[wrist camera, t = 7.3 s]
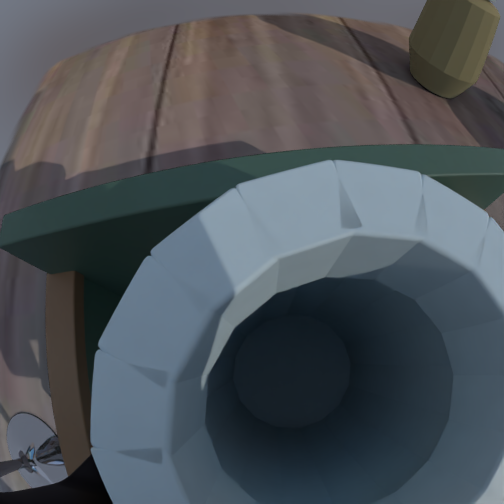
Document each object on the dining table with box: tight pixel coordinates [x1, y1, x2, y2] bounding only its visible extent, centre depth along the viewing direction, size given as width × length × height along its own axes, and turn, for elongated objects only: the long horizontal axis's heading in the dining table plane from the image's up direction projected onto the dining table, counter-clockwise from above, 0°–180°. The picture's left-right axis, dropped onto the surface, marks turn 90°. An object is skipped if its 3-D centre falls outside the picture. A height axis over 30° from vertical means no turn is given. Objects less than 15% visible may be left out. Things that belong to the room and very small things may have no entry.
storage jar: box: [90, 160, 504, 504], centre depth 9 cm, size 7×7×13 cm
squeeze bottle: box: [409, 0, 500, 98], centre depth 14 cm, size 8×8×18 cm
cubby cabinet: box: [0, 144, 504, 476], centre depth 10 cm, size 13×19×10 cm
